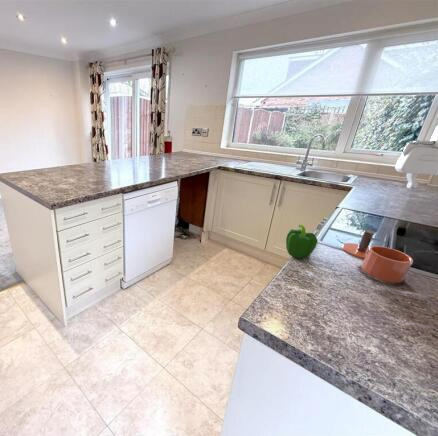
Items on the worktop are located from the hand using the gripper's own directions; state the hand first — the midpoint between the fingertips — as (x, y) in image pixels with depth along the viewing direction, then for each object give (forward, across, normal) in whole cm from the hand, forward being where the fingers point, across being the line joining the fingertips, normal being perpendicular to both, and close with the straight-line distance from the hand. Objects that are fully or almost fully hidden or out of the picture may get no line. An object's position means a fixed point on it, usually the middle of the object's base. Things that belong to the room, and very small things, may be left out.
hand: (429, 189), depth 74 cm
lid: (+22, -12, -2) cm, 25 cm away
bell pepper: (+23, -33, -10) cm, 42 cm away
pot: (+23, -12, -14) cm, 30 cm away
